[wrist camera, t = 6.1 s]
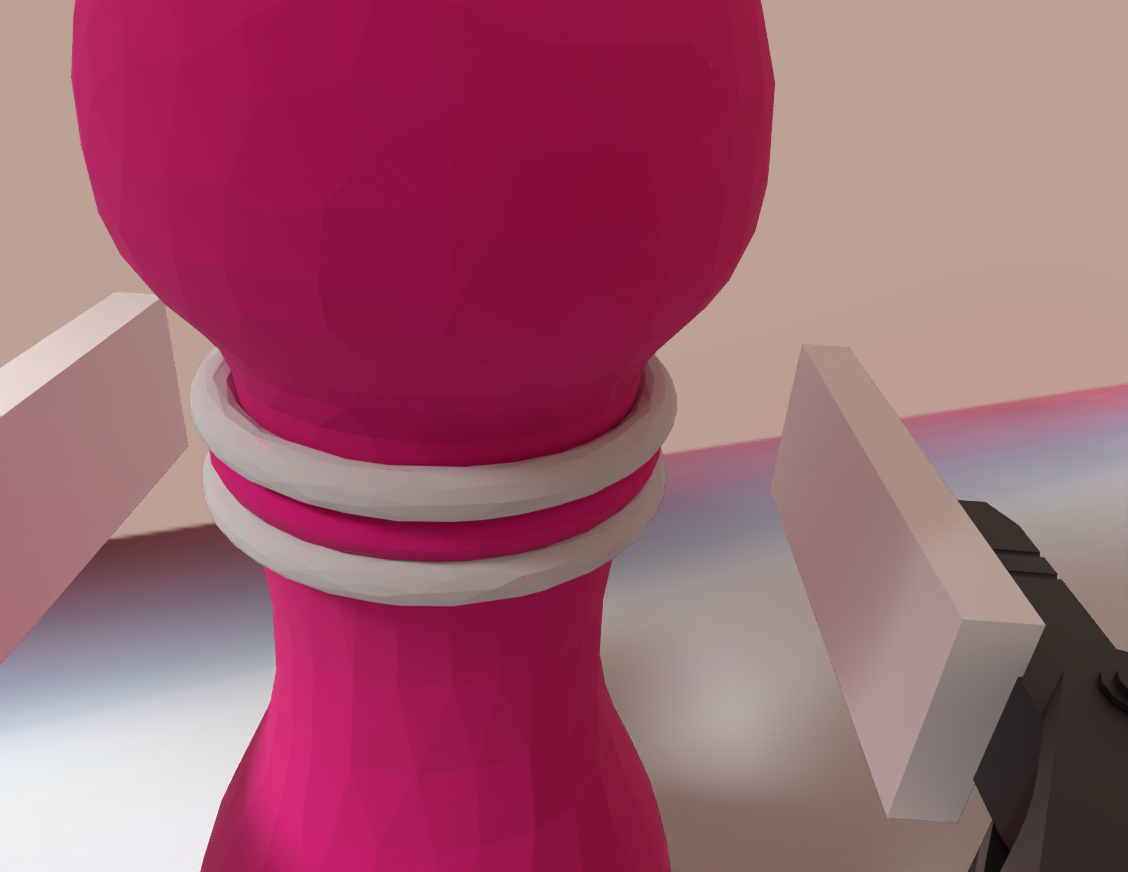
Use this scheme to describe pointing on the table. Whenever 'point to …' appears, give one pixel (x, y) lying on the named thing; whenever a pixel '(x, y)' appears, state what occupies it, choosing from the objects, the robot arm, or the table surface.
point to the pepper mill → (431, 378)
